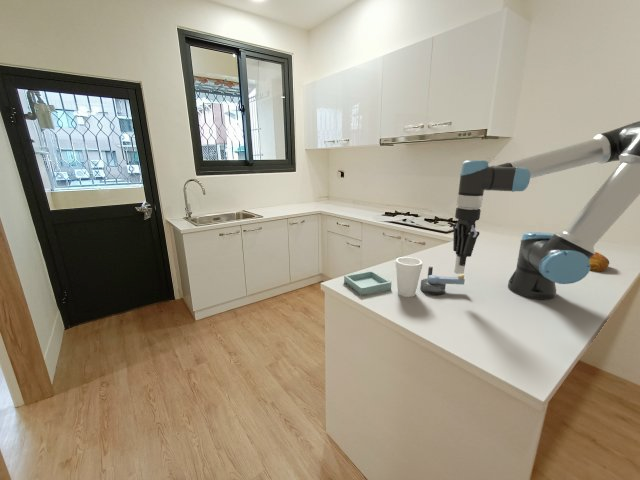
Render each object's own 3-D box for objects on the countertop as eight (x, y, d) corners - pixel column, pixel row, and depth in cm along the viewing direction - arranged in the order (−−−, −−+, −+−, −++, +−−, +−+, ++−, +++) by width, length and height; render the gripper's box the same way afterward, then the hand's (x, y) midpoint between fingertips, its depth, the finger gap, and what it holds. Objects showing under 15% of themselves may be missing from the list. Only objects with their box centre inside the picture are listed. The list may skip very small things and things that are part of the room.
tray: (391, 289, 116) (391, 282, 115) (361, 295, 110) (361, 288, 110) (371, 277, 128) (372, 270, 127) (344, 282, 123) (344, 275, 122)
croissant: (606, 269, 141) (611, 253, 140) (607, 274, 130) (612, 257, 128) (567, 262, 151) (571, 247, 149) (565, 266, 139) (570, 249, 138)
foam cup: (405, 300, 106) (408, 267, 103) (388, 291, 114) (390, 259, 111) (424, 295, 111) (427, 262, 107) (407, 286, 118) (409, 255, 115)
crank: (429, 284, 112) (429, 276, 111) (426, 280, 116) (427, 272, 115) (464, 285, 111) (465, 277, 110) (461, 281, 115) (462, 273, 114)
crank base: (451, 292, 113) (453, 276, 111) (432, 297, 109) (433, 280, 107) (429, 281, 123) (430, 266, 122) (410, 285, 120) (411, 270, 118)
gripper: (491, 210, 93) (479, 279, 100) (468, 204, 106) (459, 266, 112) (468, 210, 93) (458, 280, 99) (448, 204, 105) (440, 266, 112)
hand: (458, 272), depth 106 cm, fingers closed
